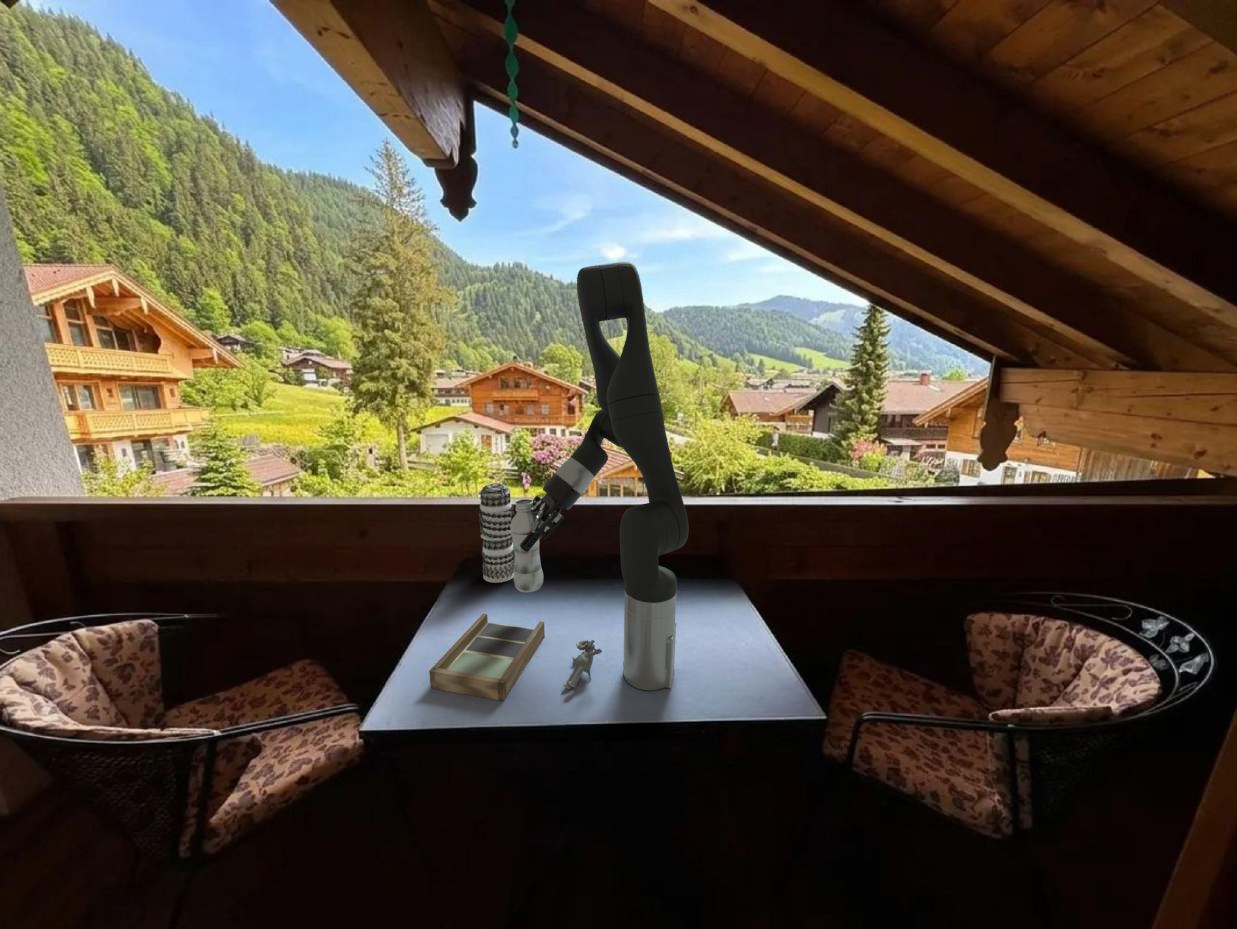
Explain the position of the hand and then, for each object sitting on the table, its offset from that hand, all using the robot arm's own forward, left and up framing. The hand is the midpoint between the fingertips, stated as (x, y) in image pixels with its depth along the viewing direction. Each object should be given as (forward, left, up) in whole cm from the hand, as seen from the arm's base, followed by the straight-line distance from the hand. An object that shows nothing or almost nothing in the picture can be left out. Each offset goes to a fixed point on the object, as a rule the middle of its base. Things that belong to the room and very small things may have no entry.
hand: (518, 543), depth 98 cm
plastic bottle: (-2, -1, -11) cm, 11 cm away
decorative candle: (+15, -19, -19) cm, 31 cm away
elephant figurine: (-19, +14, -19) cm, 30 cm away
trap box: (0, +13, -19) cm, 23 cm away
